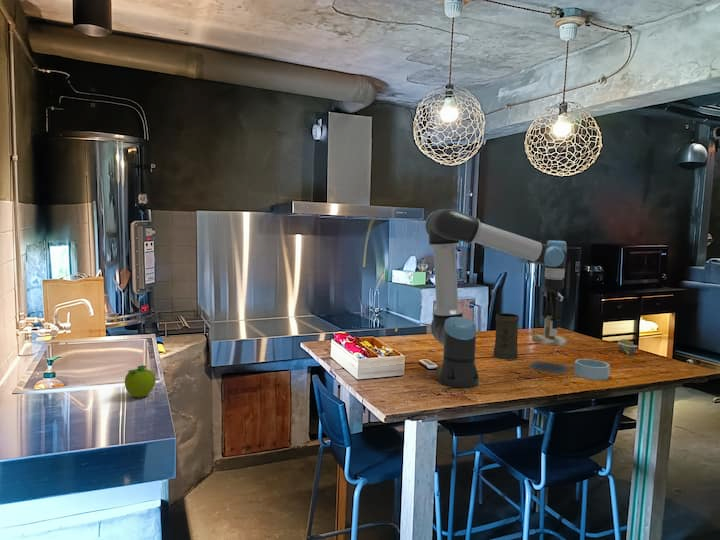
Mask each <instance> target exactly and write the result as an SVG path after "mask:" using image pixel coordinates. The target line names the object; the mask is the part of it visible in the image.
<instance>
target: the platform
mask: <svg viewBox="0 0 720 540" xmlns="http://www.w3.org/2000/svg"><path fill="white" fill-rule="evenodd" d="M617 344H618V345H620V346H619V351H620V352H622V353H626V354H627V355H632V356H634V355H635V348H638V345H637V344H634V341H632V340H628V339H626V338H625V339H624V338H623V339H620V340H618V341H617Z"/></svg>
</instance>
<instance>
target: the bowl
mask: <svg viewBox="0 0 720 540" xmlns="http://www.w3.org/2000/svg"><path fill="white" fill-rule="evenodd" d="M573 365H574V366H573V375H576V376H577V377H579V378H582V379H587V380H593V381H602V380H605V381H606V380H607V381H608V379H609V378H610V371H611V365H610V364H609V363H607V362H605V361H602V360H597V359H592V358H591V359H590V358H578V359H576V360H574V362H573Z"/></svg>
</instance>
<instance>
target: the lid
mask: <svg viewBox="0 0 720 540" xmlns="http://www.w3.org/2000/svg"><path fill="white" fill-rule="evenodd" d="M550 319H552V314H551V315H548V316H547V320H546V333H545V334H544V333H543V334H542V333H538V334H533V335H532V341H533V342H534V343H537V344H541V345H546V346H547V345H548V346H566V345H568V338H566V337H563V336H560V335H556V336H549V332H550Z"/></svg>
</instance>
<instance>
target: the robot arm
mask: <svg viewBox="0 0 720 540" xmlns="http://www.w3.org/2000/svg"><path fill="white" fill-rule="evenodd" d="M425 231H426V233H427V235H428V243H429V244H428V245H429V246H430V247H431V248H432V250H433V268H434V283H435V285H434V287H435V305H436V306H435V307H436V308H435V309H434V310H433V312H432V317H433V318H432V320H431V324H430V331H431V334H432V336H433V338H434V340H435V341H437V342H438V343H439V344H441V345H443V356H442V357H443V358H442V362H441V365H440V368H439V371H438V373H437V381H438V382H439V383H440V384H441V385H444V386H448V387H451V388H452V387H453V388H473V387H476V386H478V385H479V383H480V381H479V380H480V376H479V373H478V370H477V365H476V362H475V361H476V345H477V343H476V342H477V341H476V340H477V332H478V331H477V325H476V323H475V321H473V320H472V319H470V318H465V317H464V316H463V311H462V309H461V308H459V298H458V297H459V295H458V294H459V293H458V276H457V275H458V273H457V272H458V271H457V251H456V248H457V246H458V245H459V244H460V242H464V243H466V244H472V243H476V244H479V245H482V246H484V247H488V248H491V249H494V250H497V251H501V252H504V253H506V254H509V255H512V256H515V257H517V261H519V262H520V263H522V264H535V265H539V266H540V265H541V266H545V269H544V280H543V281H544V283H543V287H544V288H546V290H545V291H542V292H541V296H542V297H541V298H542V299H541V300H542V301H541V316H543V318H544V323H543V324H544V327H543V334H545V333H546V320H547V316H548V315H551V316H552V319H550V332H549V336H557V334H558V333H557V330H558V322H559V321H562V319H563V309H564V302H565V300H566V299H565V298H566V297H565V296H563V295H562V292H561V290H563V289H564V285H565V280H564V279H565V272H566V261H567V253H568V252H567V251H568V250H567V249H568V246H567V242H566V241H565V240H547V241H546V243H542V242H540V241H538V240H534V239H532V238H528V237H525V236H521V235H519V234H517V233H513V232H510V231H506V230H504V229H501V228H497V227H495V226H492V225H489V224H486V223H483V222H481V221H480V219H479V218H477V217H474V216H471V215H469V214H467V213H464V212H462V211H459V210H457V209H454V208H441V209H437V210H434V211H432V212H431V213H430V214H429V215H428V216H427V218H426V220H425Z"/></svg>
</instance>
